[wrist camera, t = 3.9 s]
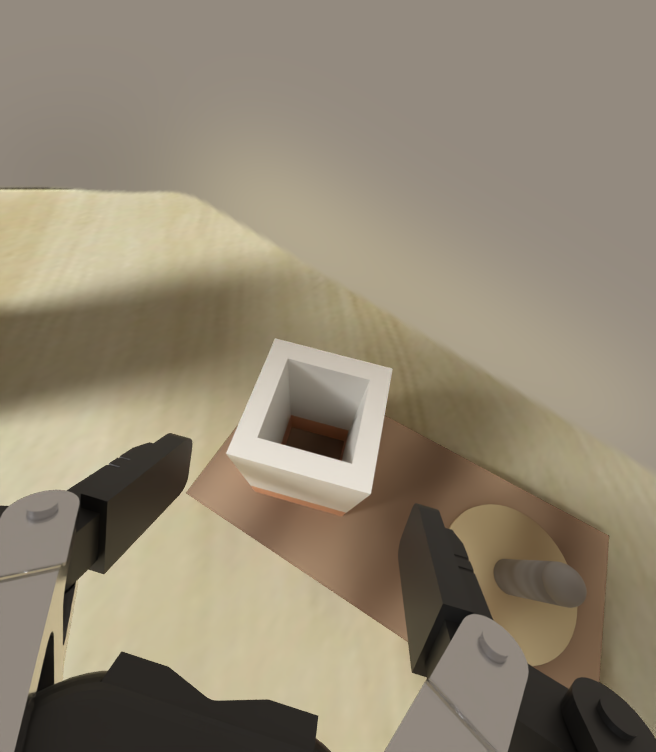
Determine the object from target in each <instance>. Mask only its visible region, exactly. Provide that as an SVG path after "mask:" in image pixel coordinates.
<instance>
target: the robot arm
mask: <svg viewBox="0 0 656 752" xmlns="http://www.w3.org/2000/svg"><path fill="white" fill-rule="evenodd" d="M191 452H192V440H191V439H190V438H186V437H183V436H179V435H176V434H172V433H169V434H167V435H165V436H164V437H162V438H161V439H159V440H158V441H156V442H155V443H150V442H149V443H146V444H143V445H140V446H137V447H134V448H132V449H130V450H129V451H127V452H126V453H124V454H123V455H121V456H120V458H116V459H115V460H113V461H112V462H110V463H109V465H106V466H104V467H103V468H101V469H99V470H98V471H96V472H95V473H93V474H92V475H90V476H89V477H87V478H85V479H84V480H82V481H81V482H79V483H78V484H76V485H75V486H73V487H71V488H70V489H68V490H67V491H64V490H49V491H42V492H38V493H34V494H31V495H28V496H26V497H23V498H21V499H19V500H17V501H16V502H14V503H13V504H11V505H10V506H0V752H331V751H330V750H329V749H328V748H327V747H326V746H325V745H324V744H323V743H321V742H320V741H319V740H318V739H316V731H317V722H318V716H317V715H314V714H311V713H308V712H305V711H302V710H299V709H296V708H293V707H290V706H286V705H283V704H280V703H277V702H274V701H271V700H230V701H214V700H211V699H209V698H207V697H206V696H204V695H203V694H202V693H201V692H199V691H198V690H197V689H196V688H194V687H193V686H192V685H191V684H189V683H188V682H187V681H186V680H184V679H183V678H182V677H181V676H179V675H178V674H177V673H176V672H174V671H173V670H172V669H171V668H169V667H167V666H164V665H161V664H158V663H155V662H152V661H149V660H146V659H143V658H140V657H137V656H134V655H131V654H128V653H125V652H121V653H120V654H119V656H118V657H117V659H116V660H115V662H114V663H113V665H112V666H111V668H110V669H109V670H108V671H99V672H92V673H86V674H83V675H79V676H75V677H71V678H69V679H66V680H64V681H62V680H63V669H64V661H65V654H66V649H67V643H68V638H69V632H70V626H71V621H72V615H73V610H74V604H75V599H76V593H77V587H78V579H79V578H80V577H81V576H82V575H83V574H84V573H85V572H86V571H87V570H88V569H89V570H92V571H95V572H98V573H102V574H105V573H106V572H107V571H108V570H109V568H110V567H111V566H112V565H113V564H114V563H115V562H116V561H117V560H118V559H119V558H120V557H121V556H122V555H123V554H124V553H125V552H126V551H127V550H128V548H129V547H130V546H131V545H132V544H133V543H134V542H135V541H136V540H137V539H138V538H139V537H140V536H141V535H142V534H143V533H144V532H145V531H146V529H147V528H148V527H149V526H150V525H151V524H152V523H153V522H154V521H155V520H156V519H157V518H158V517H159V516H160V515H161V514H162V513H163V512H164V511H165V509H166V508H167V507H168V506H169V505H170V504H171V503H172V502H173V501H174V500H175V499H176V498H177V497H178V496H179V495H180V493H181V492H182V491H183V489H184V487H185V485H186V482H187V479H188V475H189V467H190V459H191ZM398 562H399V571H400V579H401V587H402V595H403V603H404V612H405V620H406V628H407V636H408V645H409V653H410V661H411V669H412V673H415V674H418V675H421V676H424V677H427V680H426V681H425V683H424V684H423V686H422V688H421V689H420V691H419V693H418V695H417V696H416V698H415V700H414V701H413V703H412V705H411V707H410V708H409V710H408V712H407V713H406V715H405V717H404V719H403V720H402V722H401V724H400V725H399V727H398V729H397V731H396V732H395V734H394V736H393V737H392V739H391V741H390V742H389V744H388V746H387V748H386V749H385V751H384V752H656V739H655V737H654V736H653V734H652V733H651V731H650V730H649V728H648V727H647V725H646V724H645V723H644V722H643V720H642V719H641V718H640V717H639V715H638V714H637V713H636V712H635V711H634V710H633V709H632V708H631V707H630V706H629V705H628V704H627V703H626V702H625V701H624V700H623V699H622V698H621V697H620V696H618V695H617V694H616V693H615V692H613V691H612V690H611V689H609V688H608V687H606V686H605V685H603V684H601V683H599V682H597V681H595V680H593V679H590V678H586V677H580V678H577V679H575V680H574V682H573V683H572V685H571V686H570V688H569V689H568V688H567V687H565V686H563V685H562V684H560V683H558V682H557V681H555V680H554V679H552V678H550V677H549V676H547V675H545V674H544V673H542V672H540V671H539V670H537V669H535V668H534V667H532V666H531V665H529V664H528V663H527V660H526V658H525V655H524V653H523V651H522V650H521V648H520V646H519V645H518V643H517V642H516V641H515V639H514V638H513V637H512V636H511V635H510V634H509V633H508V632H507V631H506V630H505V629H504V628H503V627H502V626H500V625H499V624H498V623H496V622H495V621H494V620H493V618H492V615H491V613H490V610H489V608H488V605H487V603H486V600H485V598H484V595H483V593H482V590H481V588H480V585H479V582H478V580H477V577H476V575H475V574H474V570H473V567H472V565H471V562H470V561H469V557H468V555H467V552H466V549H465V547H464V544H463V543H462V542H461V540H460V539H459V538H458V536H457V535H456V534H455V533H454V531H453V530H451V529H448V528H445V526H444V523H443V520H442V517H441V515H440V512H439V510H438V509H435V508H431V507H428V506H424V505H421V504H417V503H415V504H414V505H413V507H412V510H411V512H410V515H409V518H408V520H407V523H406V526H405V528H404V531H403V534H402V537H401V539H400V543H399V549H398Z"/></svg>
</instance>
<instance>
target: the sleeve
mask: <svg viewBox="0 0 656 752" xmlns="http://www.w3.org/2000/svg"><path fill="white" fill-rule="evenodd" d="M392 369H393V368H389V367H385V366H381V365H377V364H373V363H369V362H366V361H362V360H358V359H354V358H350V357H346V356H342V355H338V354H335V353H331V352H327V351H323V350H319V349H315V348H311V347H308V346H304V345H300V344H296V343H292V342H288V341H284V340H280V339H277V338H275V340H274V342H273V344H272V347H271V349H270V351H269V354H268V356H267V358H266V361H265V363H264V365H263V368H262V370H261V372H260V375H259V377H258V379H257V382H256V384H255V387H254V389H253V391H252V394H251V396H250V398H249V401H248V403H247V405H246V408H245V410H244V412H243V415H242V417H241V419H240V422H239V424H238V426H237V429H236V431H235V434H234V436H233V438H232V441H231V443H230V445H229V448H228V450H227V452H226V454H227V455H228V457H229V458H230V459H231V461H232V462H233V463H234V465H235V466H236V467H237V469H238V470H239V471H240V472H241V474H242V475H243V476H244V478H245V479H246V480H247V482H248V483H249V484H250V485H251V487H252V488H253V489H254V491H255V492H258V493H261V494H265V495H268V496H272V497H275V498H279V499H282V500H286V501H289V502H293V503H296V504H300V505H303V506H307V507H310V508H314V509H317V510H321V511H324V512H328V513H331V514H335V515H338V516H343V515H344V514H345V513H347V512H348V511H349V510H351V509H352V508H353V507H355V506H356V505H357V504H359V503H360V502H361V501H363V500H364V499H365V498H367V497H368V496H369V495H370V494H371V490H372V485H373V479H374V473H375V467H376V462H377V456H378V450H379V444H380V438H381V433H382V427H383V421H384V415H385V410H386V404H387V398H388V392H389V386H390V381H391V375H392ZM291 427H294V428H297V429H301V430H305V431H308V432H312V433H316V434H319V435H323V436H327V437H330V438H334V439H338V440H341V441H344V444H343V448H342V453H341V457H340V460H337V459H333V458H329V457H326V456H322V455H318V454H315V453H311V452H308V451H304V450H300V449H297V448H293V447H290V446H286V443H287V440H288V437H289V433H290V430H291Z"/></svg>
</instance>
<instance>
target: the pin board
mask: <svg viewBox="0 0 656 752" xmlns="http://www.w3.org/2000/svg"><path fill="white" fill-rule="evenodd" d="M237 426H238V425H237ZM236 429H237V427H236V428H235V429H234V431H233V432H232V433H231V434H230V436H229V437H228V438H227V440H226V441H225V442H224V444H223V445H222V446H221V448H220V449H219V450H218V451H217V453H216V454H215V455H214V457H213V458H212V459H211V461H210V462H209V463H208V465H207V466H206V467H205V468H204V470H203V471H202V472H201V474H200V475H199V476H198V478H197V479H196V480H195V482H194V483H193V484H192V485H191V487H190V488H189V489H188V491H187V492H186V493H187V494H188V495H190V496H191V497H193V498H194V499H196V500H197V501H199V502H200V503H201V504H203V505H204V506H206V507H207V508H209V509H210V510H212V511H213V512H215V513H216V514H218V515H219V516H221V517H222V518H224V519H225V520H227V521H228V522H230V523H231V524H233V525H234V526H236V527H237V528H239V529H240V530H242V531H243V532H245V533H246V534H248V535H249V536H251V537H252V538H254V539H255V540H257V541H258V542H260V543H261V544H263V545H264V546H266V547H267V548H269V549H270V550H272V551H273V552H275V553H276V554H278V555H279V556H281V557H282V558H283V559H285V560H286V561H288V562H289V563H291V564H292V565H294V566H295V567H297V568H298V569H300V570H301V571H303V572H304V573H306V574H307V575H309V576H310V577H312V578H313V579H315V580H316V581H318V582H319V583H321V584H322V585H324V586H325V587H327V588H328V589H330V590H331V591H333V592H334V593H336V594H337V595H339V596H340V597H342V598H343V599H345V600H346V601H348V602H349V603H351V604H352V605H354V606H355V607H357V608H358V609H360V610H361V611H363V612H364V613H366V614H367V615H368V616H370V617H371V618H373V619H374V620H376V621H377V622H379V623H380V624H382V625H383V626H385V627H386V628H388V629H389V630H391V631H392V632H394V633H395V634H397V635H398V636H400V637H401V638H403V639H404V640H406V641H407V642H408V636H407V628H406V620H405V612H404V603H403V595H402V587H401V579H400V571H399V562H398V549H399V543H400V539H401V537H402V534H403V531H404V528H405V526H406V523H407V520H408V518H409V515H410V512H411V510H412V507H413V505H414V504H415V503H417V504H421V505H424V506H428V507H431V508H435V509H438V510H439V512H440V515H441V517H442V520H443V523H444V526H445V528H448V529H451V530H453V531H454V533H455V534H456V535H457V536H458V538H459V539H460V540H461V542H462V543H463V544H464V547H465V549H466V552H467V555H468V557H469V561H470V562H471V565H472V567H473V570H474V574H475V575H476V577H477V580H478V582H479V585H480V588H481V590H482V593H483V595H484V598H485V600H486V603H487V605H488V608H489V610H490V613H491V615H492V618H493V620H494V621H495V622H496V623H498V624H499V625H500V626H502V627H503V628H504V629H505V630H506V631H507V632H508V633H509V634H510V635H511V636H512V637H513V638H514V639H515V641H516V642H517V643H518V645H519V646H520V648H521V650H522V651H523V653H524V655H525V658H526V660H527V663H528V664H529V665H531V666H532V667H534V668H535V669H537V670H539V671H540V672H542V673H544V674H545V675H547V676H549V677H550V678H552V679H554V680H555V681H557V682H558V683H560V684H562V685H563V686H565V687H567V688H568V689H569V688H570V686H571V685H572V683H573V682H574V680H575V679H577V678H580V677H586V678H590V679H593V680H595V681H597V682H599V679H600V664H601V650H602V635H603V620H604V605H605V590H606V576H607V561H608V546H609V535H607V534H605V533H603V532H601V531H599V530H597V529H596V528H594V527H592V526H590V525H588V524H586V523H584V522H583V521H581V520H579V519H577V518H575V517H573V516H571V515H570V514H568V513H566V512H564V511H562V510H560V509H558V508H557V507H555V506H553V505H551V504H549V503H547V502H545V501H543V500H542V499H540V498H538V497H536V496H534V495H532V494H530V493H529V492H527V491H525V490H523V489H521V488H519V487H517V486H516V485H514V484H512V483H510V482H508V481H506V480H504V479H502V478H501V477H499V476H497V475H495V474H493V473H491V472H489V471H488V470H486V469H484V468H482V467H480V466H478V465H476V464H475V463H473V462H471V461H469V460H467V459H465V458H463V457H461V456H460V455H458V454H456V453H454V452H452V451H450V450H448V449H447V448H445V447H443V446H441V445H439V444H437V443H435V442H434V441H432V440H430V439H428V438H426V437H424V436H422V435H420V434H419V433H417V432H415V431H413V430H411V429H409V428H407V427H406V426H404V425H402V424H400V423H398V422H396V421H394V420H393V419H391V418H389V417H387V416H385V415H384V421H383V427H382V433H381V438H380V444H379V450H378V456H377V462H376V467H375V473H374V479H373V485H372V490H371V494H370V495H369V496H368V497H367V498H365V499H364V500H363V501H361V502H360V503H359V504H357V505H356V506H355V507H353V508H352V509H351V510H349V511H348V512H347V513H345V514H344V515H343V516H338V515H335V514H331V513H328V512H324V511H321V510H317V509H314V508H310V507H307V506H303V505H300V504H296V503H293V502H289V501H286V500H282V499H279V498H275V497H272V496H268V495H265V494H261V493H258V492H255V491H254V489H253V488H252V487H251V485H250V484H249V483H248V482H247V480H246V479H245V478H244V476H243V475H242V474H241V472H240V471H239V470H238V469H237V467H236V466H235V465H234V463H233V462H232V461H231V459H230V458H229V457H228V455H227V454H226V452H227V450H228V448H229V445H230V443H231V441H232V438H233V436H234V434H235V431H236ZM343 444H344V441H341V440H338V439H334V438H330V437H327V436H323V435H319V434H316V433H312V432H308V431H305V430H301V429H297V428H294V427H291V430H290V433H289V437H288V440H287V443H286V446H290V447H293V448H297V449H300V450H304V451H308V452H311V453H315V454H318V455H322V456H326V457H329V458H333V459H337V460H340V457H341V453H342V448H343Z"/></svg>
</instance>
